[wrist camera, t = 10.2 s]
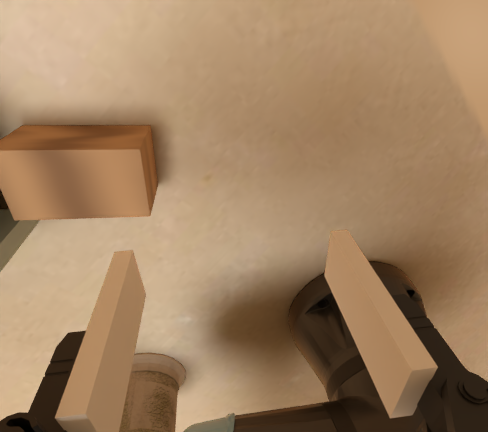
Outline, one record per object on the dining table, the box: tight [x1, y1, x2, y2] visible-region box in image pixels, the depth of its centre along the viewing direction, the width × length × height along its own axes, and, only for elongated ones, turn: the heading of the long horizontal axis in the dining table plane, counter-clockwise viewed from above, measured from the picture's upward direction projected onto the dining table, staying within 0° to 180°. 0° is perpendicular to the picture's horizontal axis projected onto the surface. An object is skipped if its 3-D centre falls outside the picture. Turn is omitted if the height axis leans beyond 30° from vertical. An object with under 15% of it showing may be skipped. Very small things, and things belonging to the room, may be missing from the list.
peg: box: [0, 125, 158, 221], centre depth 23 cm, size 9×5×5 cm, turn 88°
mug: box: [119, 353, 186, 432], centre depth 35 cm, size 14×10×12 cm
